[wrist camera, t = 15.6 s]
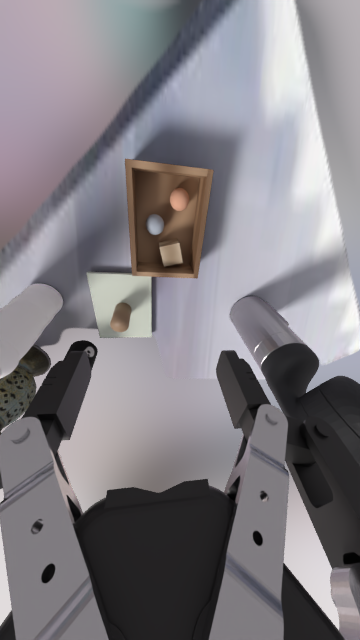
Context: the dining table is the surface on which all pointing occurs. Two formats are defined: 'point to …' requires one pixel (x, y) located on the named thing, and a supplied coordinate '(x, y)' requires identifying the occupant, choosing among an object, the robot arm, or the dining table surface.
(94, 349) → the beverage can
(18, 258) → the dining table surface
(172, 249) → the maple cube
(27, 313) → the water bottle
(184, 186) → the box
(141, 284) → the lid
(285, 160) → the dining table surface
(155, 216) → the ball slate
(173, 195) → the ball terracotta
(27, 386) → the lantern
